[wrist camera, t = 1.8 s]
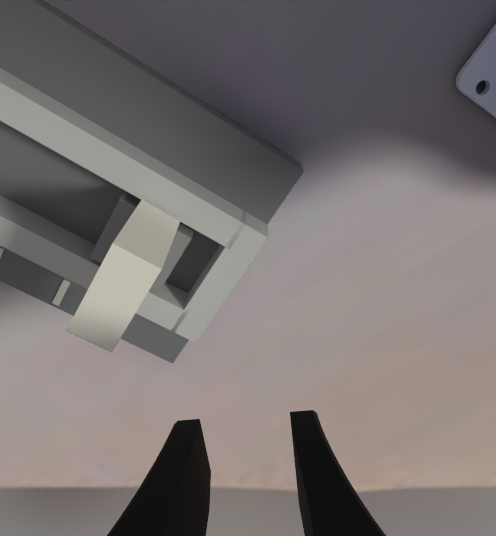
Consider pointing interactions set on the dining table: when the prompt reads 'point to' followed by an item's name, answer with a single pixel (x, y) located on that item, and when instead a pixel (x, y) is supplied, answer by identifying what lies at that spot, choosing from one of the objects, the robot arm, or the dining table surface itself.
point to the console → (121, 173)
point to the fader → (128, 268)
